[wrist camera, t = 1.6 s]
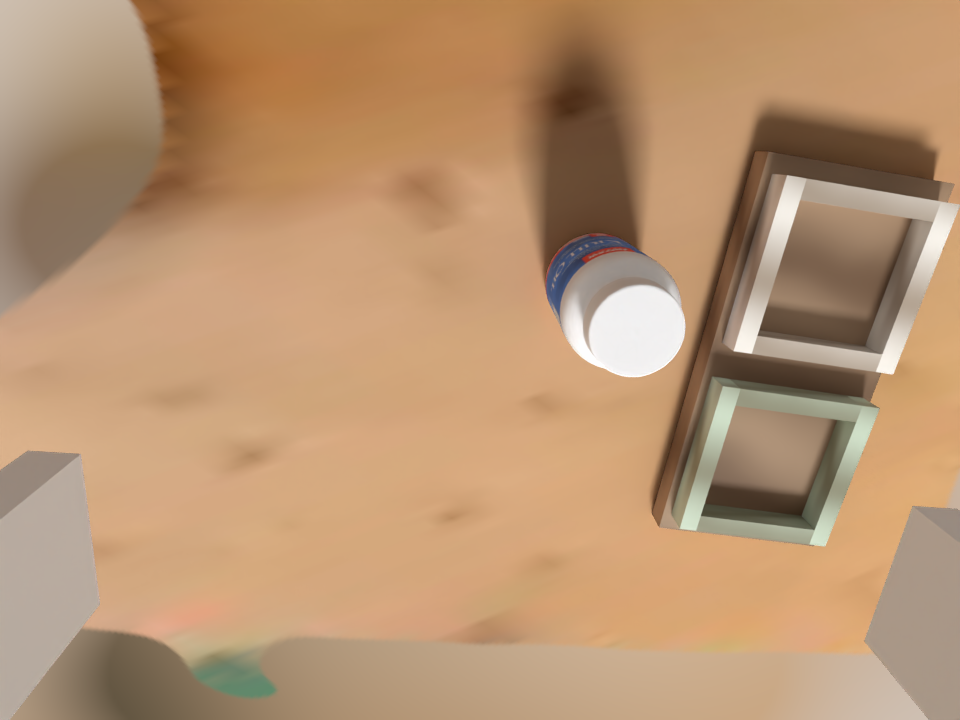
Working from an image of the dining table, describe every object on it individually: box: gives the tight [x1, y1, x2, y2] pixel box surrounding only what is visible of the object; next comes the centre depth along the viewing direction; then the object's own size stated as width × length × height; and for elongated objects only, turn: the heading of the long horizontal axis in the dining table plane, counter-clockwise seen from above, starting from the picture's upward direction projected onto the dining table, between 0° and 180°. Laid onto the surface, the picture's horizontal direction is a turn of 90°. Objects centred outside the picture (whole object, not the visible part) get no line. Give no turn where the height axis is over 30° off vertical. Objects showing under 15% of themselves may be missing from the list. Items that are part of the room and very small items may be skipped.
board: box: [652, 151, 960, 546], centre depth 35 cm, size 22×10×3 cm, turn 171°
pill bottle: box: [545, 233, 685, 377], centre depth 30 cm, size 6×5×10 cm
